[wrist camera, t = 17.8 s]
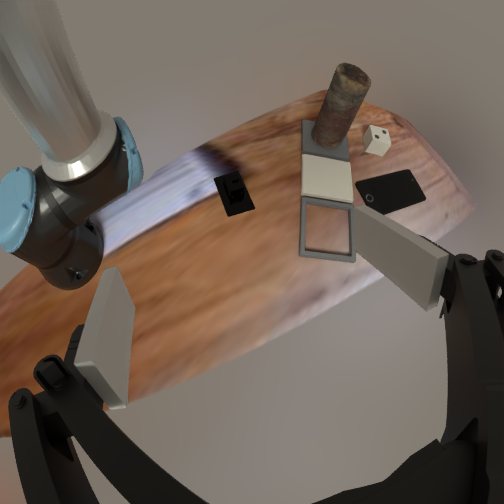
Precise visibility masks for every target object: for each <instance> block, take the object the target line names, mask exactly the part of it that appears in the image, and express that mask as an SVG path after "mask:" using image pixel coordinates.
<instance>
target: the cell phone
mask: <svg viewBox="0 0 504 504" xmlns="http://www.w3.org/2000/svg"><path fill="white" fill-rule="evenodd" d="M355 185H356V187H357V189H358V191H359V193H360V195H361V197H362V198H363V200H364V202H365V204H366V206H368V207H369V208H371V209H373V210H375V211H377V212H379V213H381V214H382V215H385V214H388V213H391V212H394V211H396V210H399V209H402V208H405V207H408V206H411V205H414V204H417V203H419V202H422V201H425V200H426V197H425V195H424V193H423V191H422V190H421V188H420V186H419V184H418V183H417V181H416V179H415V178H414V176H413V174H412V173H411V171H410V170H404V171H399V172H395V173H391V174H387V175H383V176H379V177H375V178H371V179H367V180H363V181H359V182H356V184H355Z"/></svg>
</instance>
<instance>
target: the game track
mask: <svg viewBox="0 0 504 504" xmlns="http://www.w3.org/2000/svg"><path fill="white" fill-rule="evenodd" d="M314 125H315V121H310V120H304V119H303V120H302V167H301V195H302V196H309V197H315V198H322V199H328V200H334V201H340V202H345V203H352V202H353V189H352V177H351V167H350V162H348V161H349V160H350V157H349V148H348V140H347V134H346V136H345V138H344V140H343V142H342V144H341V145H339V146H337V147H333V148H326V147H322V146H321V145H320V144H318V143H317V142H316V141H314V140H313V139H312V135H311V133H312V130H313V127H314ZM345 203H339V202H333V201H327V200H321V199H314V198H308V197H302V198H301V213H300V240H299V256H300V257H308V258H317V259H325V260H334V261H342V262H351V263H354V262H355V261H356V251H354V205H350V204H345ZM306 204H311V205H317V206H324V207H330V208H336V209H342V210H348V216H349V247H350V256H344V255H336V254H328V253H320V252H311V251H305V227H306Z"/></svg>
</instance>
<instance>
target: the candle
mask: <svg viewBox="0 0 504 504" xmlns="http://www.w3.org/2000/svg"><path fill="white" fill-rule="evenodd" d="M370 85H371V79H370V78H369V77H368V76H367V74H366V73H365V72H363V71H362V70H361V69H360V68H359V67H356V66H355V65H351V64H348V63H342V64H339V65H338V66H337V68H336V71H335V73H334V76H333V79H332V81H331V84H330V87H329V89H328V92H327V94H326V97H325V100H324V102H323V105H322V107H321V110H320V112H319V115H318V117H317V120H316V122H315V125H314V127H313V130H312V133H311V135H312V139H313V140H314V141H316V142H317V143H318V144H320V145H321V146H322V147H326V148H333V147H337V146H339V145H341V144H342V142H343V140H344V138H345V136H346V134H347V132H348V130H349V128H350V126H351V124H352V122H353V120H354V118H355V116H356V114H357V112H358V110H359V108H360V106H361V104H362V102H363V100H364V98H365V96H366V94H367V92H368V90H369V87H370Z"/></svg>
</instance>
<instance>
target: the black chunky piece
mask: <svg viewBox="0 0 504 504" xmlns="http://www.w3.org/2000/svg"><path fill="white" fill-rule="evenodd" d="M214 181H215V184H216V187H217V189H218V192H219V195H220V197H221V200H222V203H223V205H224V208H225V211H226V213H227V216H228V217H230V216H233V215H236V214H240V213H243V212H246V211H250V210H253V209H255V207H254V204H253V202H252V200H251V198H250V195H249V193H248V191H247V189H246V187H245V184H244V182H243V180H242V178H241V176H240V173H239V171H236V172H233V173H229V174H226V175H223V176H219V177H216V178H214Z"/></svg>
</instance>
